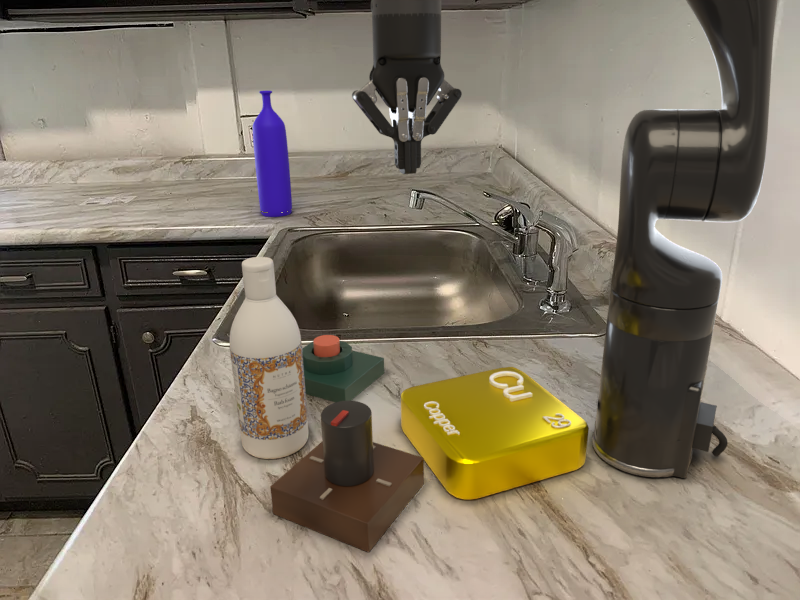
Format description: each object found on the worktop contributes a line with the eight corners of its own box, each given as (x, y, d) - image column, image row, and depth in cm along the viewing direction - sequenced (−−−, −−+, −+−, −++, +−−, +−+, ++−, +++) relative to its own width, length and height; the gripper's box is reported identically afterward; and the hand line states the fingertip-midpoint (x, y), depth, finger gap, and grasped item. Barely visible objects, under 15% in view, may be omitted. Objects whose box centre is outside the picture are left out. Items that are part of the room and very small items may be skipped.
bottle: (277, 208, 168) (266, 89, 157) (299, 212, 163) (290, 90, 152) (253, 214, 162) (240, 91, 151) (276, 218, 157) (264, 92, 146)
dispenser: (384, 373, 81) (383, 344, 79) (345, 405, 73) (343, 375, 72) (314, 355, 86) (312, 328, 84) (271, 384, 78) (268, 355, 77)
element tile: (395, 423, 70) (394, 384, 68) (513, 395, 75) (515, 359, 73) (456, 506, 57) (457, 462, 55) (594, 466, 62) (598, 424, 60)
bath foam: (257, 470, 62) (234, 278, 55) (232, 437, 68) (209, 258, 60) (320, 446, 66) (307, 263, 58) (292, 417, 71) (276, 246, 64)
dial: (339, 452, 60) (336, 393, 57) (381, 463, 58) (380, 403, 56) (315, 479, 56) (310, 417, 54) (359, 491, 54) (356, 428, 52)
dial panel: (424, 484, 60) (424, 455, 59) (368, 553, 52) (367, 521, 50) (336, 455, 64) (334, 428, 63) (272, 514, 56) (269, 484, 55)
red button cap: (345, 350, 79) (344, 337, 78) (330, 360, 76) (329, 347, 75) (324, 345, 80) (323, 332, 79) (308, 355, 78) (307, 342, 77)
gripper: (355, 9, 63) (361, 182, 70) (476, 10, 67) (472, 174, 73) (339, 14, 70) (346, 171, 76) (450, 14, 74) (448, 164, 80)
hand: (408, 172), depth 75 cm, fingers closed
